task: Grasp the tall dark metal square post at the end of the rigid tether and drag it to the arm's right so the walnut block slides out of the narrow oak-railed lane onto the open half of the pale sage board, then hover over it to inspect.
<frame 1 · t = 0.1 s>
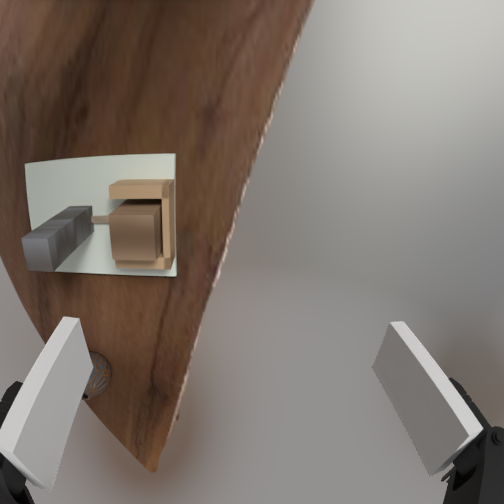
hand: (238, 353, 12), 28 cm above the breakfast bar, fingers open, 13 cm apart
tether block: (146, 218, 36), point 1 cm above the breakfast bar, touching lane shelf
lane shelf: (96, 216, 36), on the breakfast bar
vase: (97, 359, 46), on the breakfast bar
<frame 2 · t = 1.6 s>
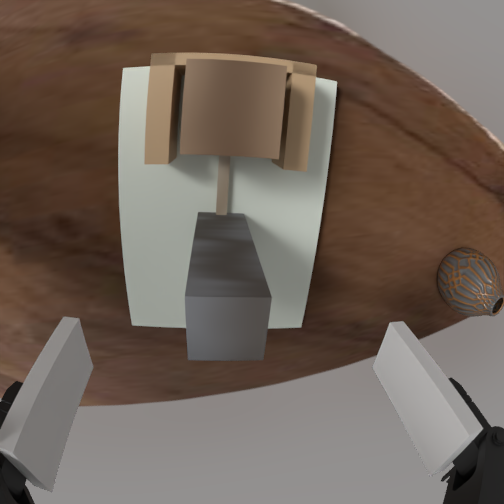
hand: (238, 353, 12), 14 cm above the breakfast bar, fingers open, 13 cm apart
tether block: (227, 113, 20), point 1 cm above the breakfast bar, touching lane shelf
lane shelf: (220, 207, 24), on the breakfast bar
vase: (449, 266, 30), on the breakfast bar
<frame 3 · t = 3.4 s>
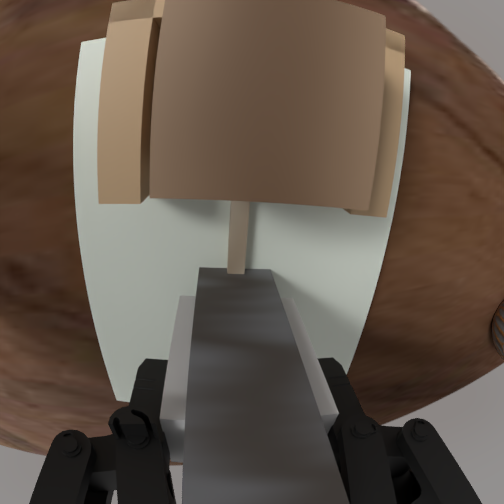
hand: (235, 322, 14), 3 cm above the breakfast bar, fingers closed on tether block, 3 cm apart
tether block: (246, 108, 12), point 1 cm above the breakfast bar, touching gripper, lane shelf
lane shelf: (234, 258, 16), on the breakfast bar
vase: (503, 310, 21), on the breakfast bar
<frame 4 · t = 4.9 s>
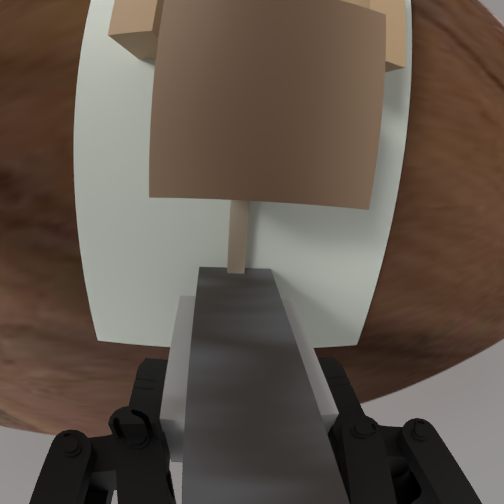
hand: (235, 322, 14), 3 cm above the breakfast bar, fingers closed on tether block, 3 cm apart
tether block: (246, 108, 12), point 1 cm above the breakfast bar, touching gripper
lane shelf: (242, 146, 14), on the breakfast bar
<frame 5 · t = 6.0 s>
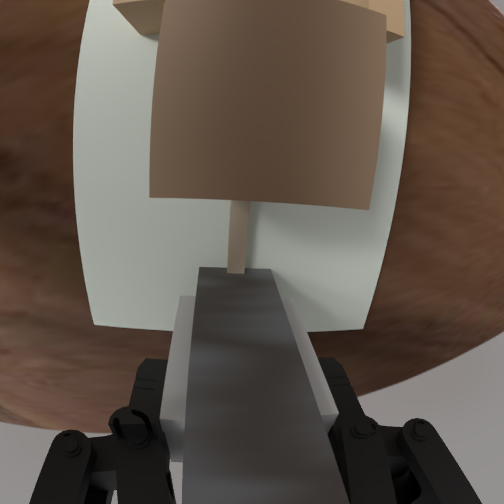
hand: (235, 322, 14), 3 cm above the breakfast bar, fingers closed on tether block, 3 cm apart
tether block: (246, 108, 12), point 1 cm above the breakfast bar, touching gripper, lane shelf
lane shelf: (244, 119, 13), on the breakfast bar
when the fingers open (3 cm above the breakfast bar, at t = 6.4 s): tether block stays where it is, resting on lane shelf.
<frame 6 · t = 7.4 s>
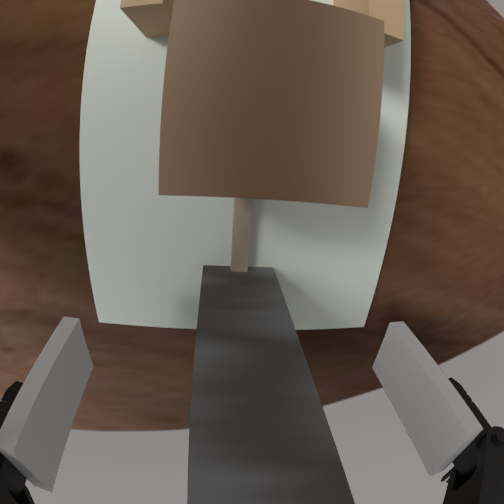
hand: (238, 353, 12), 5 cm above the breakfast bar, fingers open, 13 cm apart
tether block: (250, 110, 12), point 1 cm above the breakfast bar, touching lane shelf
lane shelf: (247, 121, 13), on the breakfast bar
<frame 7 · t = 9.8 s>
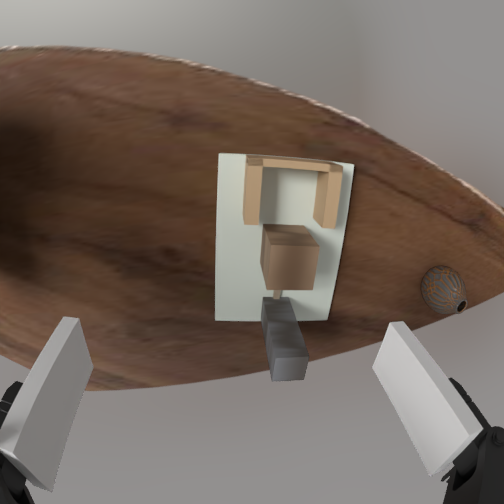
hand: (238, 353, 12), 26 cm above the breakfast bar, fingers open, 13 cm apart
tether block: (281, 243, 37), point 1 cm above the breakfast bar, touching lane shelf
lane shelf: (280, 244, 38), on the breakfast bar
vase: (430, 278, 43), on the breakfast bar
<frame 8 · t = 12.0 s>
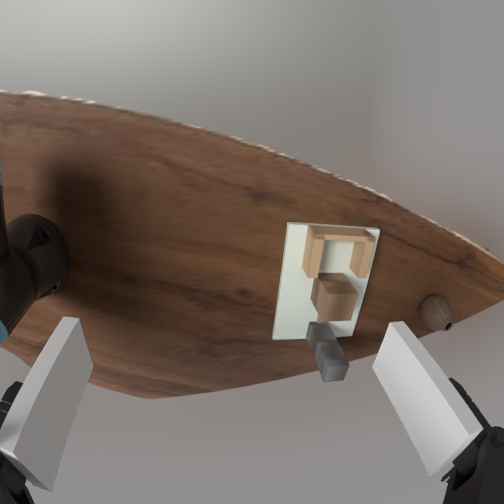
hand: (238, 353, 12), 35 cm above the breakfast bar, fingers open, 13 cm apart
tether block: (326, 285, 51), point 1 cm above the breakfast bar, touching lane shelf
lane shelf: (324, 285, 52), on the breakfast bar
vase: (426, 303, 57), on the breakfast bar
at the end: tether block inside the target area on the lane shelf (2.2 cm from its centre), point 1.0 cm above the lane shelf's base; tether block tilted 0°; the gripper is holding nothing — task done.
